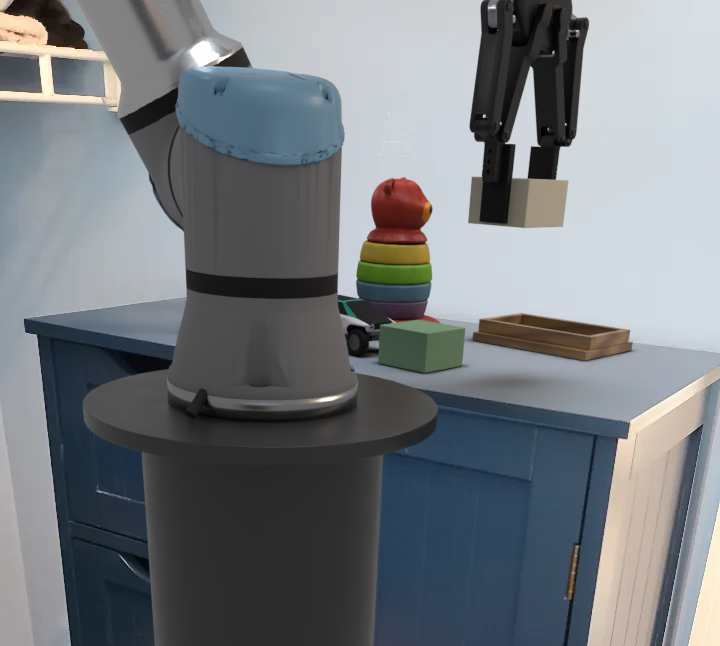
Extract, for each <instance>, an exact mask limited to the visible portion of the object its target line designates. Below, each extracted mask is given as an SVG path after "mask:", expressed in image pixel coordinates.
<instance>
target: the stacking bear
mask: <svg viewBox="0 0 720 646" xmlns="http://www.w3.org/2000/svg"><path fill="white" fill-rule="evenodd" d="M433 208H434V207H433V205H432V203H431V202H430V200H429V199H428V198H427V197H426V195H425V194H424V191H423V189H422V187H420V185H419V184H418V183H417V182H416V181H415V180H412V179H408V178H406V177H405V176H403V177H400V178H394V177H391V178H388V179H386V180H383V181H382V182H381V183H379V184H378V185H377V186H376V188H375V189H374V191H373V193H372V195H371V199H370V209H371V217H372V220H373V223H374V226H375V228H374V229H372V230H371V231H370V232H368V235H367V236H366V240H364V241H363V243H362V245H361V249H360V253H359V260H358V261H357V262H358V263H357V267H356V278H357V279H356V281H355V283H356V284H355V287H356V294H357V297H358V299H363V300H367V301H369V302H370V303H372V304H373V305H374V306H375V307H376V308H377V309H379V310H380V311H381V312H382V313H383V314H384V315H386V316H387V317H388V318H390V319H391V320H393V321H395V322H396V323H398V322H406V321H413V320H423V321H429V322H435V323H441V322H440V321H439V320H438V319H436V318H435V317H433V316H430V315H426V311H427V307H428V303H429V300H428V299H430V295H431V290H432V280H433V267H432V263H431V254H430V248H429V245H428V243H427V242H428V238H427V236H426V234H425V233H424V232H423V231H422V230H421V229H422V228H424V226H425V225H426V224H428V222H429V220H430V218H431V216H432V213H433Z"/></svg>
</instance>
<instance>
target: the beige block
mask: <svg viewBox="0 0 720 646" xmlns="http://www.w3.org/2000/svg"><path fill="white" fill-rule="evenodd" d="M482 186H483V181H482V176H471V183H470V194H469V206H468V218H467V219H468V221H467V223H468V224H473V225H485V226H495V227H496V226H497V227H507V228H521V229H536V228H537V229H538V228H540V229H541V228H563V227H564V221H565V213H566V204H567V197H568V188H569V180H568V179H567V180H566V179H556V180H549V179H528V177H526V178H525V177H512V183H511V193H510V202H509V212H508V222H507V224H501V223H490V222H479V219H480V208H481V197H482Z"/></svg>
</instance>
